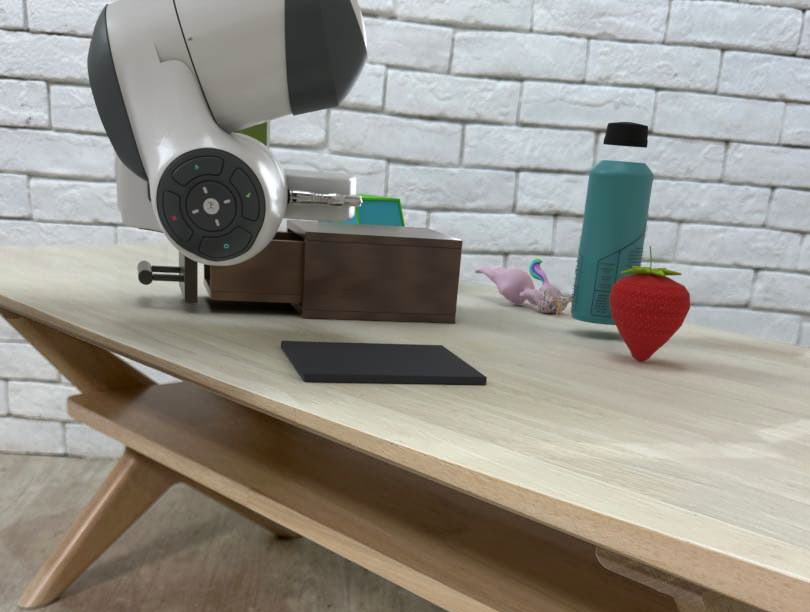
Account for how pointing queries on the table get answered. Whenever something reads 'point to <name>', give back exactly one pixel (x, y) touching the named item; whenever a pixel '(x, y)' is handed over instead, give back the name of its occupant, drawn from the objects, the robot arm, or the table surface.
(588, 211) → the beverage bottle
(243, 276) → the drawer
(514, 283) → the pink elongated figure
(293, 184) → the robot arm
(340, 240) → the cabinet
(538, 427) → the table surface
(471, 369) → the mat
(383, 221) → the blue green-edged box
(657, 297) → the strawberry
